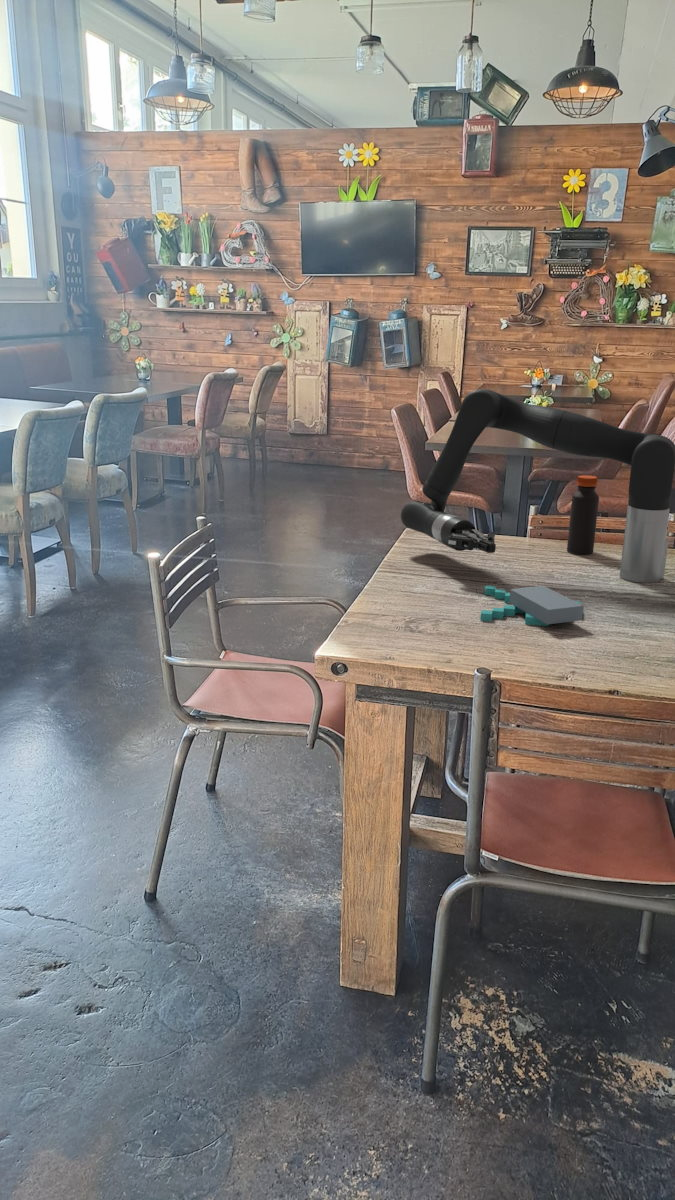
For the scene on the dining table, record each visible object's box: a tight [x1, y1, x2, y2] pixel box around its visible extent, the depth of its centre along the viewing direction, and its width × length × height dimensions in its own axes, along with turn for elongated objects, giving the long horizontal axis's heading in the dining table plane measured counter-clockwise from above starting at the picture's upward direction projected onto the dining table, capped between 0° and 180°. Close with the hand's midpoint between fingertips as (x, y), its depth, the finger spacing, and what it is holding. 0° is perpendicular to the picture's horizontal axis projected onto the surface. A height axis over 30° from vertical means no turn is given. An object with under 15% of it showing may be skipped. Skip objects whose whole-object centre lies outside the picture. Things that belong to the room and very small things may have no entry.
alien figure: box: [480, 584, 581, 627], centre depth 180 cm, size 20×2×20 cm
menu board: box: [509, 585, 584, 625], centre depth 173 cm, size 8×3×14 cm
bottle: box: [566, 474, 600, 556], centre depth 223 cm, size 7×7×20 cm
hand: (492, 548), depth 192 cm, fingers closed
